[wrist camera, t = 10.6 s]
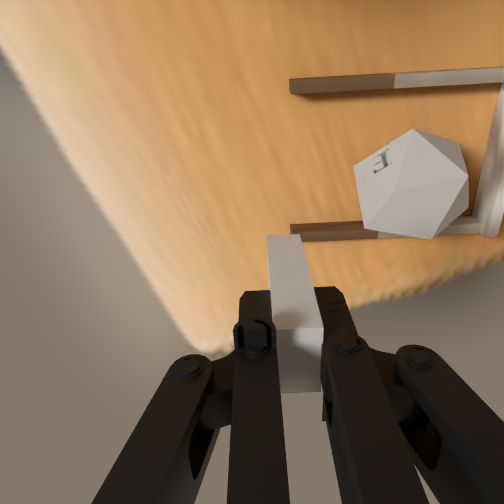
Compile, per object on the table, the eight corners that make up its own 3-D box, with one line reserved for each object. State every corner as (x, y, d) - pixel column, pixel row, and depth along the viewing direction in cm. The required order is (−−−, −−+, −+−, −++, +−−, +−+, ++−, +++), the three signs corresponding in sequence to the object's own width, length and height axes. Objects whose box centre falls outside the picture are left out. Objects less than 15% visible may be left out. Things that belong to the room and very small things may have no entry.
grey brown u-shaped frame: (289, 78, 31) (292, 81, 29) (517, 65, 31) (542, 66, 28) (290, 233, 38) (293, 247, 35) (479, 224, 37) (496, 237, 35)
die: (446, 113, 33) (419, 100, 25) (497, 203, 32) (486, 220, 25) (362, 165, 38) (318, 168, 31) (404, 244, 38) (370, 269, 30)
